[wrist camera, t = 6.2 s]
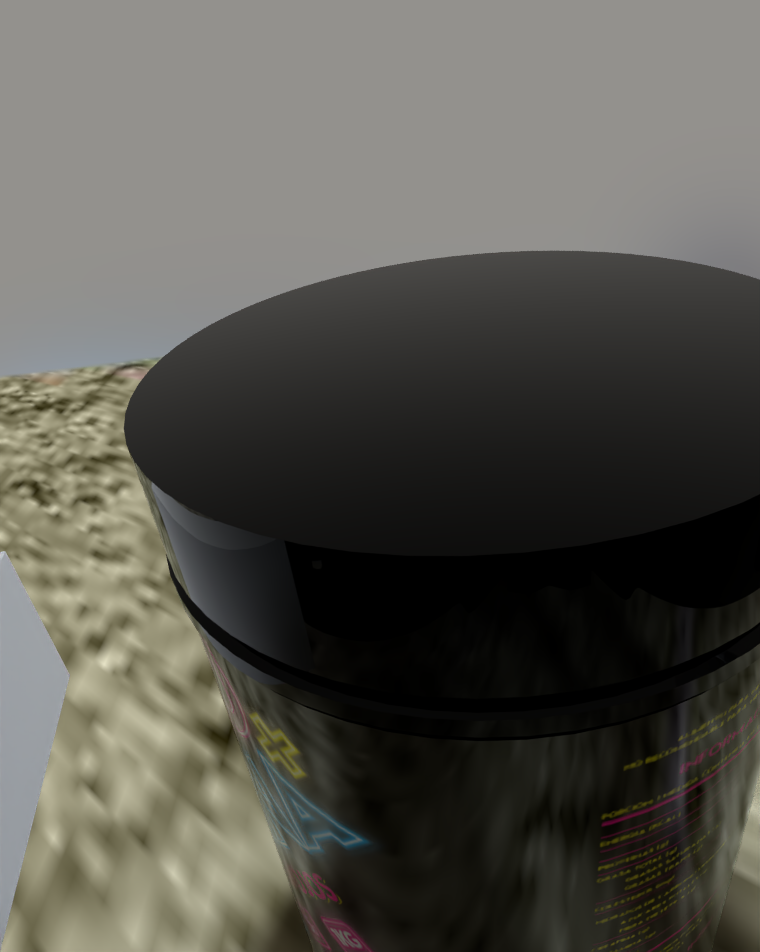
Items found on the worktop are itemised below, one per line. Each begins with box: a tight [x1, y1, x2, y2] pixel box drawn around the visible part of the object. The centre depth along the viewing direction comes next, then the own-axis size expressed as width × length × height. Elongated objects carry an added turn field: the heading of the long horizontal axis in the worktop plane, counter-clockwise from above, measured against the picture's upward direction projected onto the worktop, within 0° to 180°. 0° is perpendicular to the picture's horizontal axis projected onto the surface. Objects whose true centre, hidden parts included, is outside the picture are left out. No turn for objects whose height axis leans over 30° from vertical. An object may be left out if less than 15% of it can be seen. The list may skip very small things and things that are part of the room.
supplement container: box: [124, 251, 760, 952], centre depth 10 cm, size 7×7×10 cm
